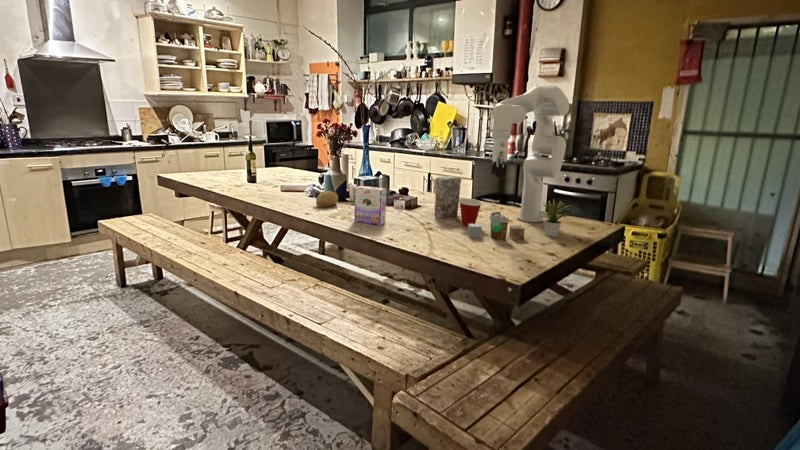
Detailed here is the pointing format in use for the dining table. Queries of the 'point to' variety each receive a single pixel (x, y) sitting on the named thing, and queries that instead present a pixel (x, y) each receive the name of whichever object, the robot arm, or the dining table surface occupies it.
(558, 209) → the house plant
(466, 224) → the plastic cup
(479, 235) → the slate-grey block
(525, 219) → the robot arm
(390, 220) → the dining table surface
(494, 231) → the food container
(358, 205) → the candy box
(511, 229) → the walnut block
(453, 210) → the stone block
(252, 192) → the dining table surface
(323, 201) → the bread roll
